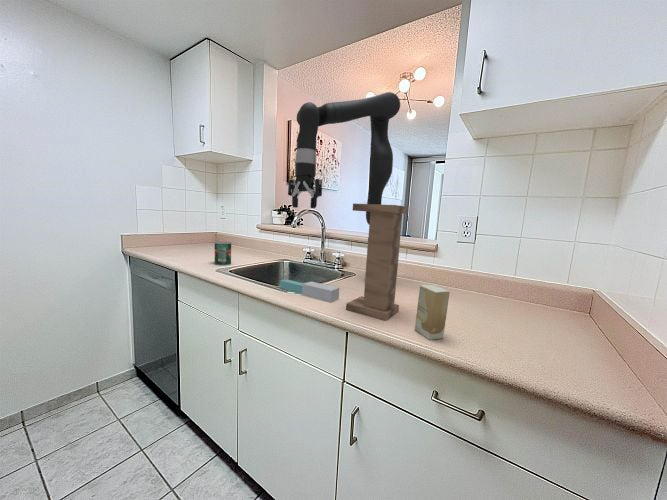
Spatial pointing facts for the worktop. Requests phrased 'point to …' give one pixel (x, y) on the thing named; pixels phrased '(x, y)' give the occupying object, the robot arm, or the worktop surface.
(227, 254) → the canned tomato
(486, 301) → the worktop surface
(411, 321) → the worktop surface
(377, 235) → the tall wooden column
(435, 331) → the skincare box
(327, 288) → the tool
